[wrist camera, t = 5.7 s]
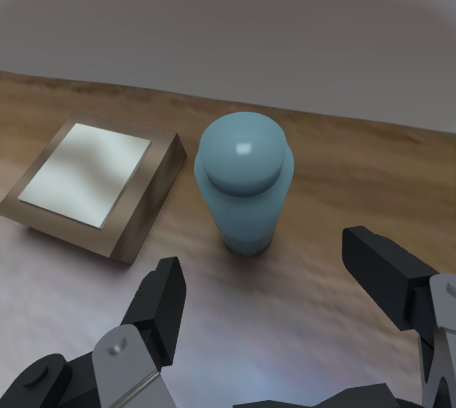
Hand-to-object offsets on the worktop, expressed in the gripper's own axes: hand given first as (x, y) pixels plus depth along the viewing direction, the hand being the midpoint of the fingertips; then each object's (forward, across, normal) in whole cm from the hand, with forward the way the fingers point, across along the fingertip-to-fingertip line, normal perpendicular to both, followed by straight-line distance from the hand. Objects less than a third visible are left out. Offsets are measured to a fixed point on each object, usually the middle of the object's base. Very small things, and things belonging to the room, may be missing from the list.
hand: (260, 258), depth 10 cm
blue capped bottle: (+11, 0, +4) cm, 12 cm away
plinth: (+16, +15, -1) cm, 22 cm away
